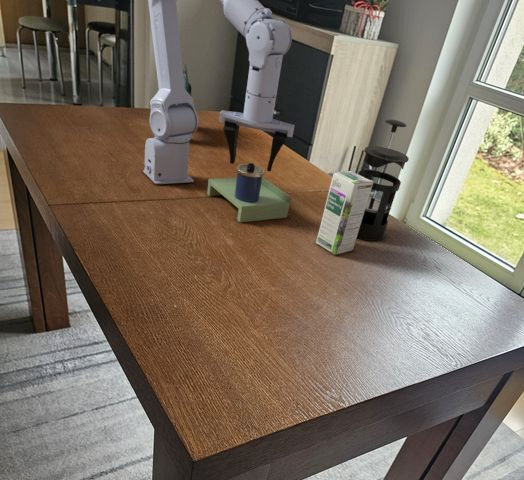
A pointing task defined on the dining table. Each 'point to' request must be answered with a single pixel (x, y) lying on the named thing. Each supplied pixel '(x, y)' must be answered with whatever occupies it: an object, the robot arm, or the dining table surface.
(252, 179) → the pot
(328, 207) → the syrup box
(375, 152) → the french press
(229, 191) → the shelf
